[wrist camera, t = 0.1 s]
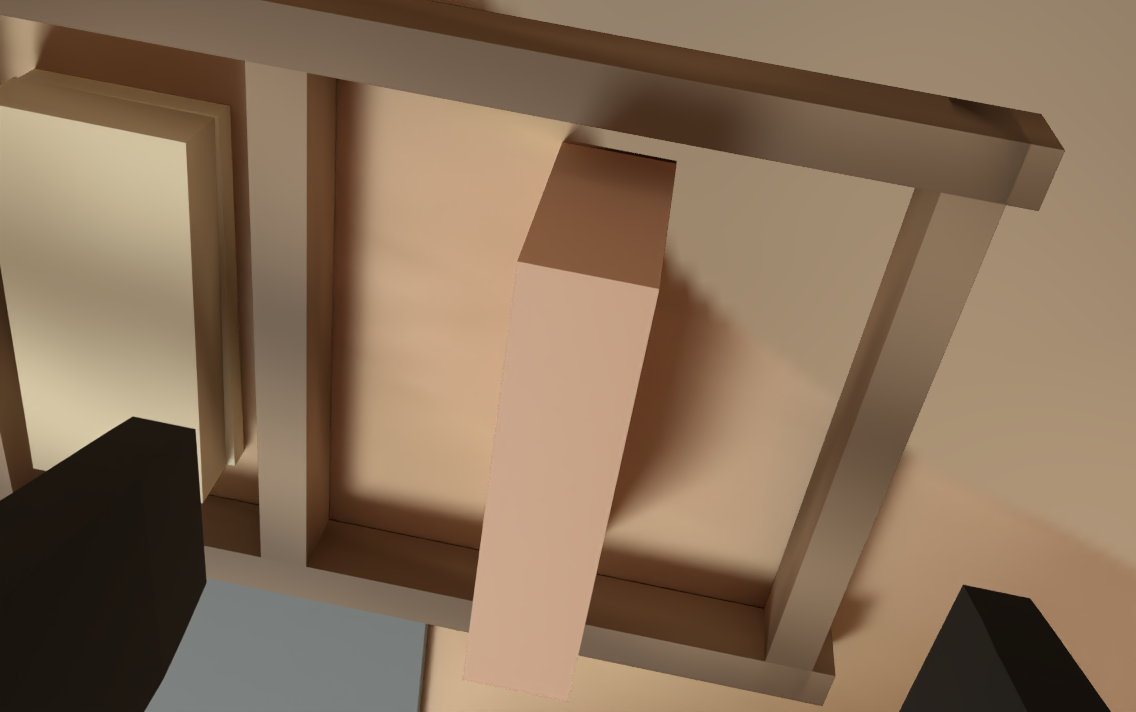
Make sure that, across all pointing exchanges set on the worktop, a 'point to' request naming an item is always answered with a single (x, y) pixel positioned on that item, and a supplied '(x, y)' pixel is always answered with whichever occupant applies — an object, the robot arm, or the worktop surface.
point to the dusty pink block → (565, 411)
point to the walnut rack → (603, 100)
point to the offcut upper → (111, 268)
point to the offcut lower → (225, 227)
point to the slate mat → (291, 657)
